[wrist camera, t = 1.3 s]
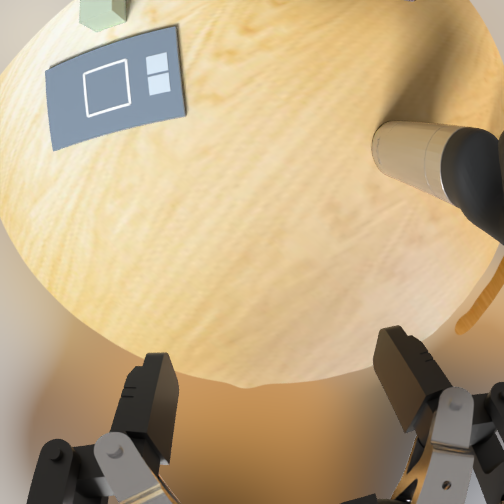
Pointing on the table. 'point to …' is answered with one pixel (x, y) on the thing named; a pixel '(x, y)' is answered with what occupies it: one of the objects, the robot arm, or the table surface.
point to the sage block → (102, 13)
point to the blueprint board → (115, 88)
